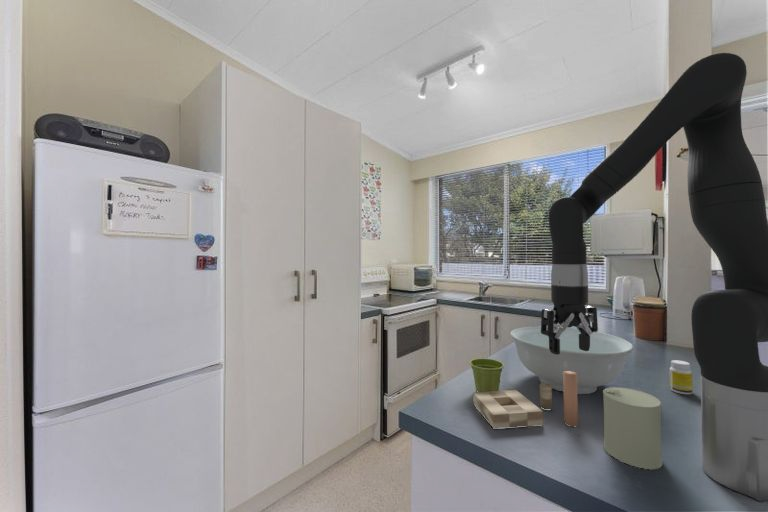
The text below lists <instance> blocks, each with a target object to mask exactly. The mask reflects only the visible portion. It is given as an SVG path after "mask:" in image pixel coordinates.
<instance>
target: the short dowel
mask: <svg viewBox="0 0 768 512" xmlns="http://www.w3.org/2000/svg"><path fill="white" fill-rule="evenodd" d="M552 392H553V389H552V386H551V385H550V384H547V383H541V382H540V383H539V408H540V407H542V408H544V409H552V410H553V393H552Z"/></svg>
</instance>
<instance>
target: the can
mask: <svg viewBox="0 0 768 512" xmlns="http://www.w3.org/2000/svg"><path fill="white" fill-rule="evenodd" d="M602 395H603V423H604V425H603V429H604V431H603V432H604V433H603V434H604V435H603V436H604V437H603V438H604V440H603V448H604V451H605V452H606V453H607V452H608V453H607V455H609V454H610V455H611V456H613V457H614V458H616V459H619V460H620V461H623V462H625V463H628V464H630V465H633V466H637V467H640V468H644V469H643V470H647V469H649V470H653V471H654V470H659V469H660V468H661V467H662V466H663V463H664V461H663V458H662V457H663V456H662V429H661V428H662V427H661V426H662V424H661V422H662V419H661V418H662V417H661V416H662V415H661V410H662V409H661V406H662V402H661V400H660V399H658V397H656V396H653V395H652V394H649V393H648V392H647V393H646V392H644V391H641V390H637V389H633V388H629V387H628V388H627V387H622V386H621V387H619V386H613V387H612V386H610V387H606V388H604V389H603V390H602ZM610 455H609V456H610ZM611 456H610V457H611ZM613 457H612V458H613ZM614 458H613V459H614ZM616 459H615V460H616ZM620 461H619V462H620ZM640 468H639V469H640Z"/></svg>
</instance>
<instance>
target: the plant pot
mask: <svg viewBox="0 0 768 512" xmlns="http://www.w3.org/2000/svg"><path fill="white" fill-rule="evenodd" d="M469 364H470V365H471V370H472V373H473V380H474V386H475V391H476V390H477V391H478V392H490V391H500V384H501V374H502V372H503V368H504V367H505V364H504V363H503V362H501V361H500V360H497V359H492V358H483V357H482V358H480V357H479V358H473V359H471V360H470V361H469Z"/></svg>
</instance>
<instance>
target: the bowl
mask: <svg viewBox="0 0 768 512" xmlns="http://www.w3.org/2000/svg"><path fill="white" fill-rule="evenodd" d="M547 328H548V326H547ZM556 330H557V329H556ZM556 330H555V332H556ZM555 332H554V333H555ZM579 334H581V333H580V332H579V330H578V329H577V328H576V327H575V328H574V327H567V328H566V330H565V331H563V332H562V334H561V335H560V337H559V339H560V354H558V355H556V354H553V353H551V352H550V350H549V337H548V336H547V335H544V334H541V326H525V327H518V328H515V329H512V330H511V331H510V334H509V335H510V338H511V339H513V340H514V343H515V349H516V354H517V356H518V358H519V361H520V363H521V364H522V365H523V366H524V367H525V368H526V369H527V370H528V371H529V372H531V373H532V374H534V375H535V376H538V379H539V380H538V381H539V382H540V383H547V384H550V385H551V386H552V390H554V389H555V391H558V392H561V391H562V393H564V387H563V372H564V371H572V372H575V373H577V395H587V394H593V393H595V392H596V391H597V389H598V387H600V386H605V385H608V384H609V383H612V382H614V381H615V380H616V379H618V378H619V377H620V375H621V374H622V372H623V371H624V368H625V365H626V361H627V357H628V355H630V354H631V353H632V352H633V350H634V346H633V344H632V343H631V342H629V341H628V340H626V339H624V338H623V337H622V338H621V337H619V336H615V335H612V334H608V333H604V332H599V331H597V332H593V333H592V334H591V335H590V348H589V351H583V350H580V349H579Z"/></svg>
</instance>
